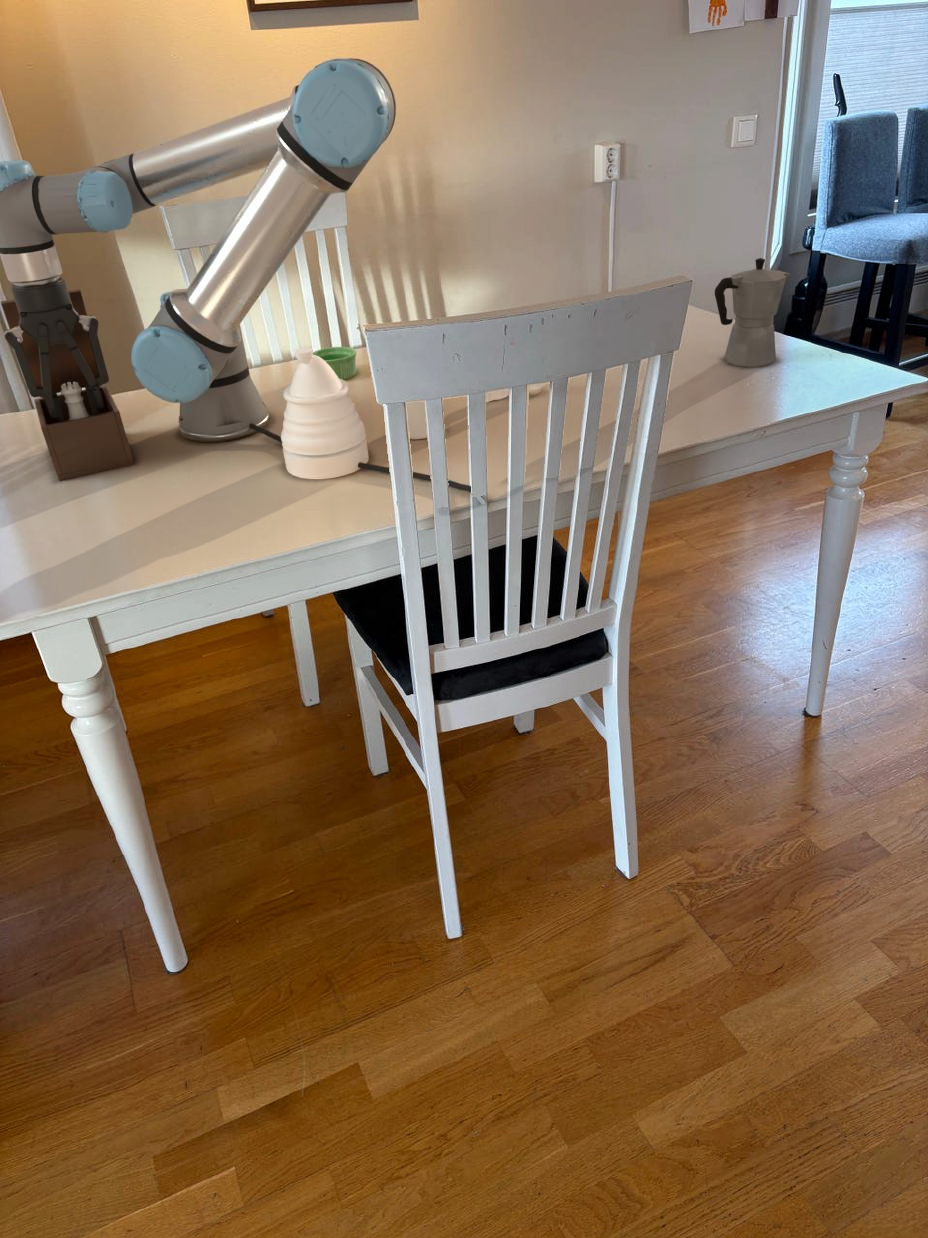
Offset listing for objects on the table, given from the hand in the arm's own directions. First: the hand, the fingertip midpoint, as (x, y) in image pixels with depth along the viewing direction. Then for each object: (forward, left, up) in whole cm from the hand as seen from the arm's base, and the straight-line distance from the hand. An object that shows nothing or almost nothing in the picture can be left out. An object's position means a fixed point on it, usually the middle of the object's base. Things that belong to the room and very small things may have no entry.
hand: (83, 431), depth 144 cm
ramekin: (-19, -48, -5) cm, 52 cm away
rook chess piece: (0, 0, 0) cm, 0 cm away
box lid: (+6, -6, +12) cm, 14 cm away
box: (+2, -2, -5) cm, 6 cm away
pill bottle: (-48, -24, -5) cm, 54 cm away
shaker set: (-58, -44, -5) cm, 73 cm away
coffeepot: (-94, -70, -5) cm, 117 cm away
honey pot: (-39, -9, -5) cm, 40 cm away
